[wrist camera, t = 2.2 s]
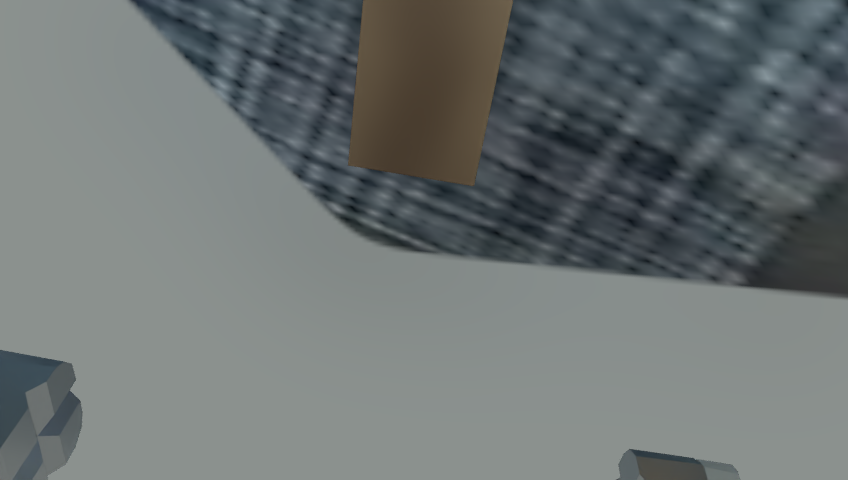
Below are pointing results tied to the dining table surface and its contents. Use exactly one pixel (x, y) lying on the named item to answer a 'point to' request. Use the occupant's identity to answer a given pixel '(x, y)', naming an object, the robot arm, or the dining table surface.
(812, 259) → the dining table surface
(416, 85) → the walnut block
